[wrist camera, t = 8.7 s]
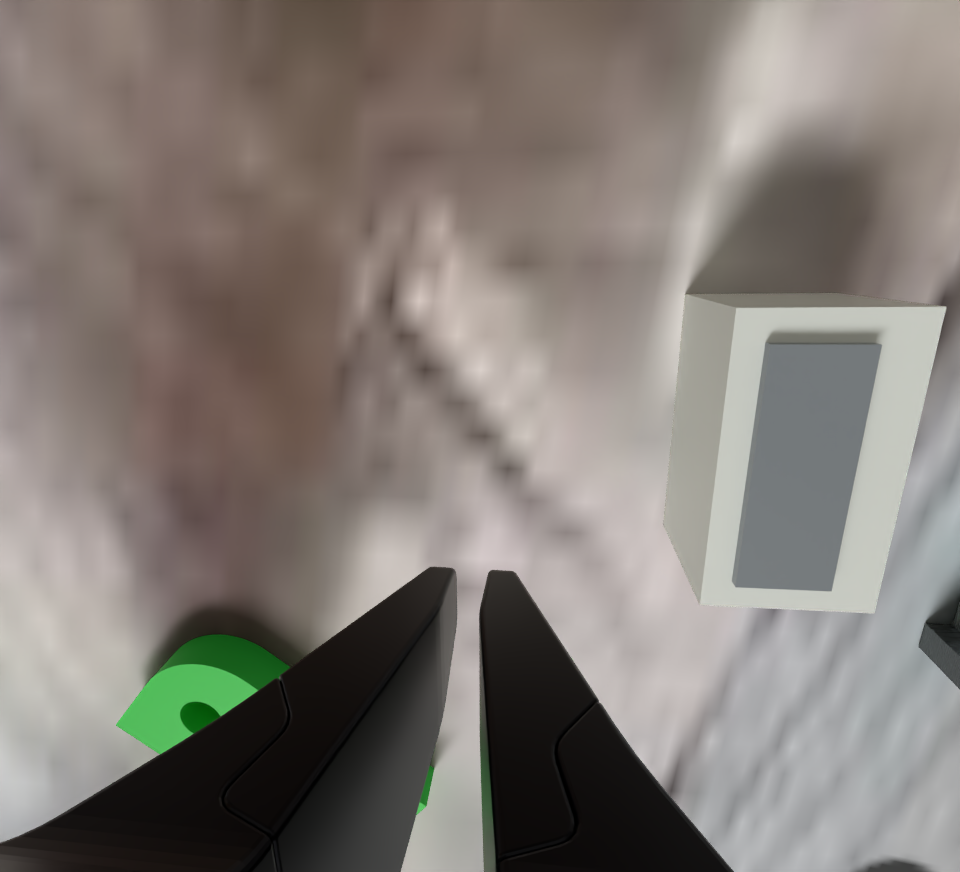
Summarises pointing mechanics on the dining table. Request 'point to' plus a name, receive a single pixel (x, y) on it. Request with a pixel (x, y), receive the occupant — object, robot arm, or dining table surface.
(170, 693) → the mechanical part
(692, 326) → the block
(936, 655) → the rail
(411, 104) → the dining table surface
